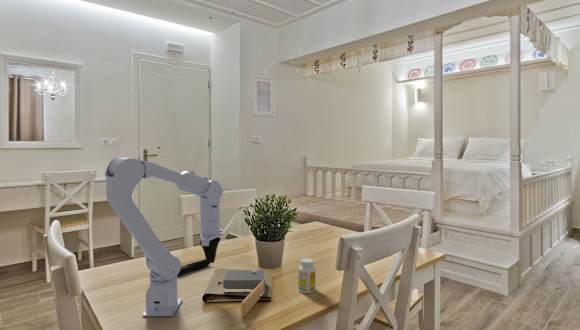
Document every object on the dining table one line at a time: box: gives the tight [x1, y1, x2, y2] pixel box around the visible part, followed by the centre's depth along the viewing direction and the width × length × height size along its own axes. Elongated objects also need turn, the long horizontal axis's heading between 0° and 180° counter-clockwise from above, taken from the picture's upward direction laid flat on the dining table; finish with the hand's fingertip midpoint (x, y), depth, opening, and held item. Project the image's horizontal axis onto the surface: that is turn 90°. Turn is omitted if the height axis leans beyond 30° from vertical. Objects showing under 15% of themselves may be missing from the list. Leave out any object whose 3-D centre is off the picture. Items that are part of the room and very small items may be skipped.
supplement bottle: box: [297, 257, 316, 294], centre depth 108 cm, size 5×5×10 cm
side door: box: [240, 279, 266, 319], centre depth 98 cm, size 1×16×4 cm, turn 163°
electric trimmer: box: [177, 258, 211, 278], centre depth 125 cm, size 4×16×3 cm, turn 138°
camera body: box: [222, 269, 265, 290], centre depth 110 cm, size 9×12×4 cm
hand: (210, 262), depth 106 cm, fingers closed
